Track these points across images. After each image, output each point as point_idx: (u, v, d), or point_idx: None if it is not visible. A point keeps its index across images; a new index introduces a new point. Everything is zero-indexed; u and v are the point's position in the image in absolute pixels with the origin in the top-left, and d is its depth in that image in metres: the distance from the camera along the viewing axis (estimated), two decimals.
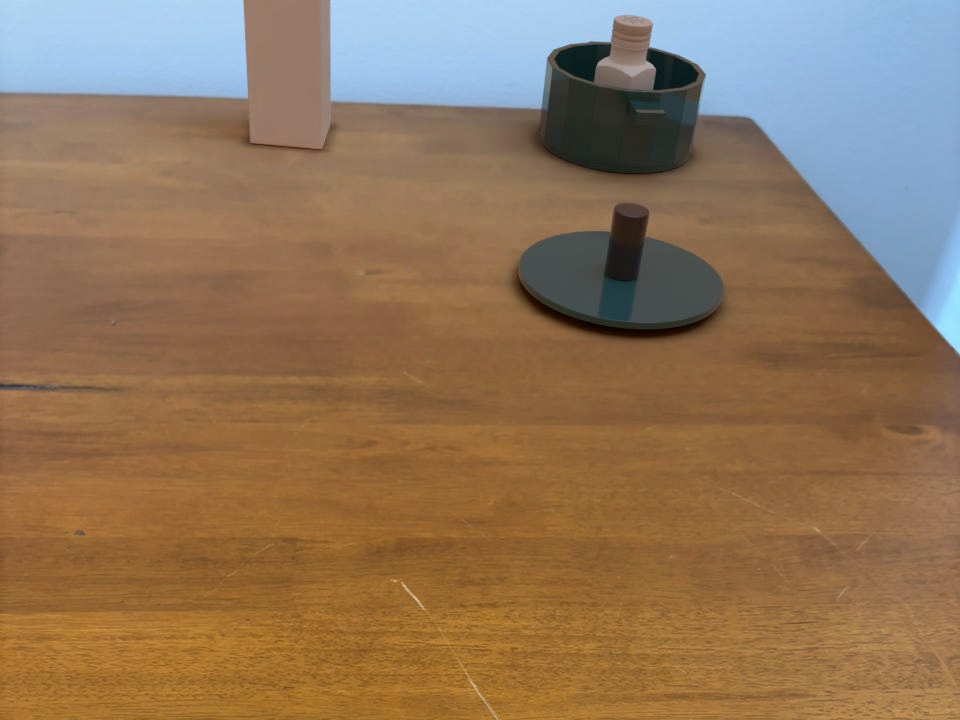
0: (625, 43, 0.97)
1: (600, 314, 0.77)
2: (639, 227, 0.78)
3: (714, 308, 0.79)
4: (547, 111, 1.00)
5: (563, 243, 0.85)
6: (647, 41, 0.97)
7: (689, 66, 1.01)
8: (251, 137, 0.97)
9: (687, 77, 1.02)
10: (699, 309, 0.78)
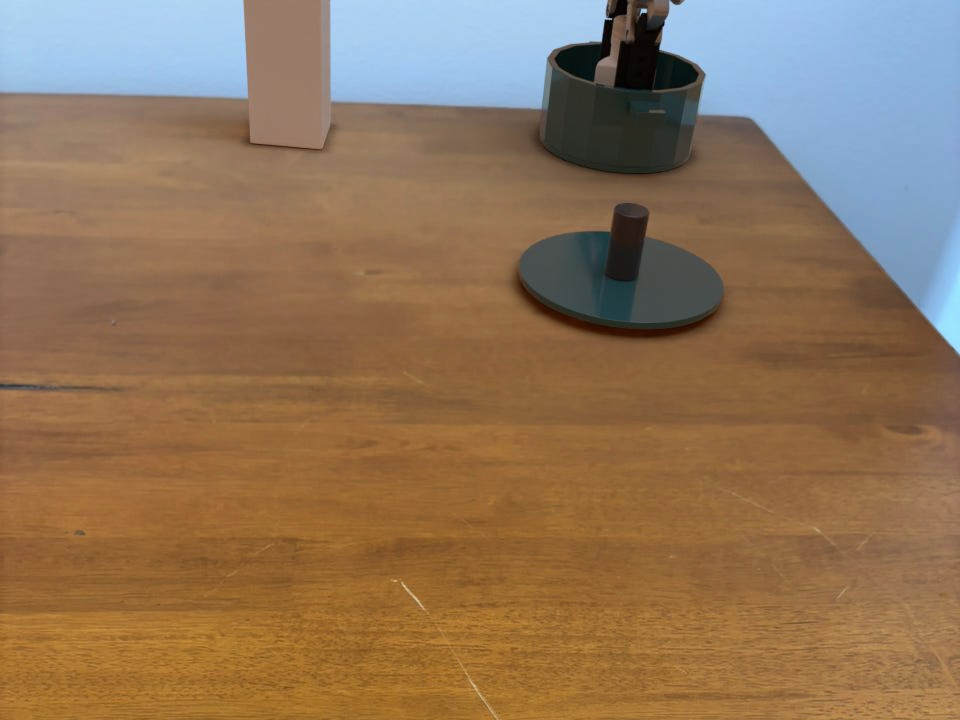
0: None
1: (600, 314, 0.77)
2: (639, 227, 0.78)
3: (714, 308, 0.79)
4: (547, 111, 1.00)
5: (563, 243, 0.85)
6: None
7: (689, 66, 1.01)
8: (251, 137, 0.97)
9: (687, 77, 1.02)
10: (699, 309, 0.78)
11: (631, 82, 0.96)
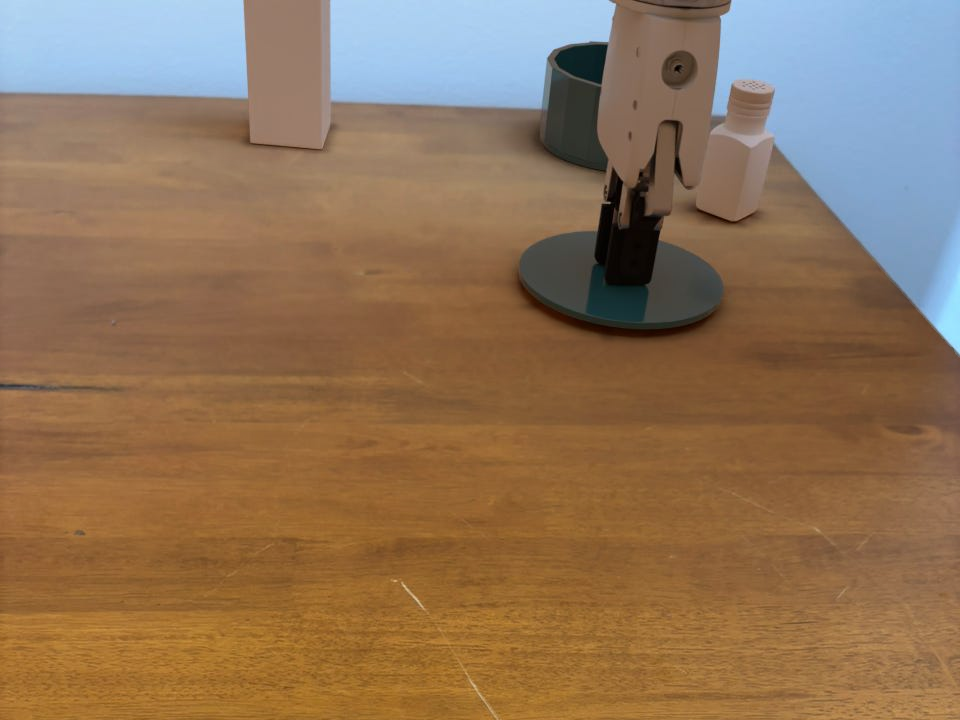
0: (744, 111, 0.88)
1: (600, 314, 0.77)
2: None
3: (714, 308, 0.79)
4: (547, 111, 1.00)
5: (563, 243, 0.85)
6: (768, 108, 0.88)
7: None
8: (251, 137, 0.97)
9: None
10: (699, 309, 0.78)
11: (625, 271, 0.79)
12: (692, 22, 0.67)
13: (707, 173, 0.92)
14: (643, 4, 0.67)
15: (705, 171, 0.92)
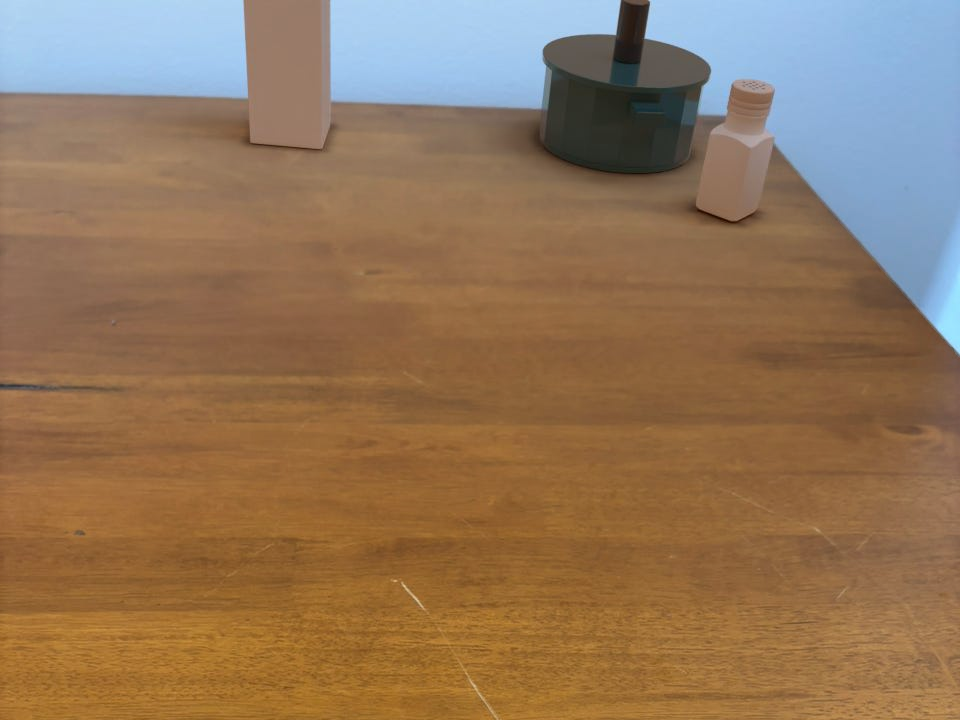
0: (744, 111, 0.88)
1: (610, 81, 0.94)
2: (641, 14, 0.96)
3: (703, 82, 0.97)
4: (547, 111, 1.00)
5: (578, 40, 1.02)
6: (768, 108, 0.88)
7: None
8: (251, 137, 0.97)
9: None
10: (691, 81, 0.96)
11: None
12: None
13: (707, 173, 0.92)
14: None
15: (705, 171, 0.92)
